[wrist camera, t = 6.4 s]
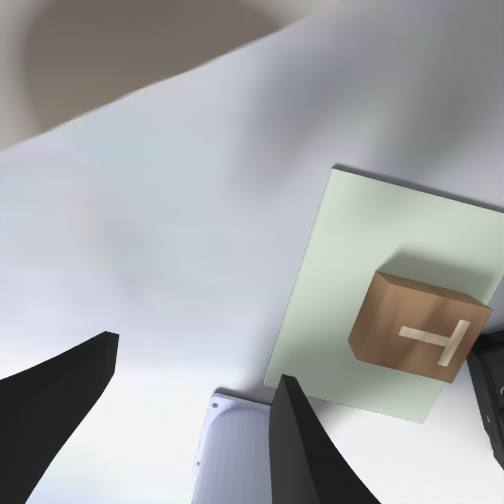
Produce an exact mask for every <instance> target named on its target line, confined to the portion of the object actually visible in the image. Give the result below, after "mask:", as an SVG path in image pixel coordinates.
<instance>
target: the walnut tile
mask: <svg viewBox="0 0 504 504" xmlns="http://www.w3.org/2000/svg"><path fill="white" fill-rule="evenodd" d="M492 310H493V309H491V308H489V307H488V306H486V305H484V304H483V303H481V302H480V301H478V300H476V299H475V298H473V297H471V296H470V295H468V294H465V293H461V292H457V291H454V290H450V289H446V288H442V287H438V286H434V285H430V284H426V283H422V282H418V281H414V280H410V279H406V278H402V277H398V276H395V275H391V274H387V273H383V272H379V271H375V273H374V276H373V278H372V281H371V283H370V286H369V288H368V291H367V293H366V296H365V298H364V300H363V303H362V305H361V308H360V310H359V313H358V315H357V318H356V320H355V323H354V325H353V328H352V330H351V333H350V335H349V338H348V342H349V345H350V347H351V349H352V351H353V353H354V355H355V357H356V359H357V360H358V361H363V362H367V363H371V364H375V365H379V366H383V367H387V368H391V369H395V370H399V371H403V372H407V373H412V374H416V375H420V376H424V377H428V378H432V379H436V380H440V381H444V382H448V383H452V382H453V380H454V379H455V377H456V375H457V373H458V371H459V370H460V368H461V366H462V364H463V362H464V361H465V359H466V357H467V355H468V353H469V352H470V350H471V348H472V346H473V344H474V343H475V341H476V339H477V337H478V335H479V334H480V332H481V330H482V328H483V326H484V325H485V323H486V321H487V319H488V317H489V316H490V314H491V312H492Z"/></svg>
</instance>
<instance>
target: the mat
mask: <svg viewBox="0 0 504 504" xmlns="http://www.w3.org/2000/svg"><path fill="white" fill-rule="evenodd" d="M375 271H379V272H383V273H387V274H391V275H395V276H398V277H402V278H406V279H410V280H414V281H418V282H422V283H426V284H430V285H434V286H438V287H442V288H446V289H450V290H454V291H457V292H461V293H465V294H468V295H470V296H471V297H473V298H475V299H476V300H478V301H480V302H481V303H483V304H484V305H486V306H487V305H488V303H489V301H490V299H491V297H492V296H493V294H494V292H495V290H496V288H497V286H498V285H499V283H500V281H501V279H502V277H503V275H504V213H500V212H496V211H493V210H489V209H485V208H481V207H477V206H474V205H470V204H466V203H462V202H458V201H455V200H451V199H447V198H443V197H439V196H436V195H432V194H428V193H424V192H420V191H417V190H413V189H409V188H405V187H401V186H398V185H394V184H390V183H386V182H382V181H379V180H375V179H371V178H367V177H363V176H360V175H356V174H352V173H348V172H344V171H341V170H337V169H333V168H331V171H330V175H329V178H328V181H327V184H326V187H325V190H324V193H323V196H322V200H321V203H320V206H319V209H318V212H317V215H316V218H315V222H314V225H313V228H312V231H311V234H310V237H309V240H308V244H307V247H306V250H305V253H304V256H303V259H302V262H301V266H300V269H299V272H298V275H297V278H296V281H295V284H294V288H293V291H292V294H291V297H290V300H289V303H288V306H287V310H286V313H285V316H284V319H283V322H282V325H281V328H280V332H279V335H278V338H277V341H276V344H275V347H274V350H273V353H272V357H271V360H270V363H269V366H268V369H267V372H266V375H265V379H264V382H263V386H267V387H271V388H275V389H277V387H278V384H279V381H280V378H281V375H282V374H285V375H289V376H293V377H296V379H297V380H298V382H299V384H300V386H301V388H302V390H303V392H304V394H305V396H309V397H313V398H317V399H321V400H325V401H330V402H334V403H338V404H342V405H346V406H350V407H355V408H359V409H363V410H367V411H371V412H375V413H380V414H384V415H388V416H392V417H396V418H400V419H405V420H409V421H413V422H417V423H421V424H423V422H424V420H425V418H426V416H427V414H428V413H429V411H430V409H431V407H432V405H433V403H434V402H435V400H436V398H437V396H438V394H439V392H440V391H441V389H442V387H443V385H444V383H445V382H444V381H440V380H436V379H432V378H428V377H424V376H420V375H416V374H412V373H407V372H403V371H399V370H395V369H391V368H387V367H383V366H379V365H375V364H371V363H367V362H363V361H358V360H357V359H356V357H355V355H354V353H353V351H352V349H351V347H350V345H349V342H348V338H349V335H350V333H351V330H352V328H353V325H354V323H355V320H356V318H357V315H358V313H359V310H360V308H361V305H362V303H363V300H364V298H365V296H366V293H367V291H368V288H369V286H370V283H371V281H372V278H373V276H374V273H375Z"/></svg>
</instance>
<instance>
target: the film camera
mask: <svg viewBox="0 0 504 504" xmlns="http://www.w3.org/2000/svg"><path fill="white" fill-rule="evenodd" d="M466 359H467V363H468V367H469V371H470V375H471V379H472V382H473V386H474V390H475V394H476V398H477V402H478V406H479V410H480V414H481V417H482V421H483V425H484V429H485V431H486V432H487V434H488V436H489V438H490V442H491V446H492V449H493V451H494V453H493V454H494V457H495V459H496V460H497V462H498V463H499V464H500V466H501V467H502V468H503V470H504V331H503V332H500V333H496V334H492V335H488V336H487V335H485V334H484V335H481V337H480V338H477V339H476V341H475V343H474V344H473V346H472V348H471V350H470V352H469V353H468V355H467V357H466ZM500 408H501V409H500Z"/></svg>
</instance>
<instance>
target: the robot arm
mask: <svg viewBox="0 0 504 504" xmlns="http://www.w3.org/2000/svg"><path fill="white" fill-rule="evenodd" d="M118 341H119V334H115V333H111V332H107V331H105V332H103V333H101V334H99V335H97V336H95V337H93V338H91V339H89V340H87V341H85V342H83V343H81V344H79V345H77V346H75V347H73V348H72V349H70V350H68V351H66V352H64V353H62V354H60V355H58V356H55V357H53V358H51V359H49V360H47V361H44V362H42V363H40V364H38V365H36V366H34V367H31V368H29V369H27V370H24V371H22V372H20V373H17V374H15V375H12V376H9V377H7V378H4V379H1V380H0V504H25V503H26V501H27V499H28V498H29V496H30V495H31V493H32V491H33V490H34V488H35V487H36V485H37V483H38V482H39V480H40V479H41V477H42V476H43V474H44V473H45V471H46V469H47V468H48V466H49V465H50V463H51V462H52V460H53V459H54V457H55V456H56V455H57V453H58V452H59V450H60V449H61V448H62V446H63V445H64V444H65V442H66V441H67V440H68V439H69V437H70V436H71V435H72V433H73V432H74V431H75V429H76V428H77V427H78V425H79V424H80V423H81V422H82V420H83V419H84V418H85V416H86V415H87V414H88V412H89V411H90V410H91V408H92V407H93V406H94V404H95V403H96V402H97V400H98V399H99V398H100V396H101V395H102V393H103V392H104V390H105V388H106V387H107V385H108V383H109V382H110V380H111V378H112V376H113V375H114V372H115V364H116V356H117V348H118ZM214 403H216V404H214ZM192 471H193V473H194V474H195V475H197V479H196V483H195V488H194V492H193V497H192V501H191V504H381V503H380V502H379V501H378V500H377V499H376V497H375V496H374V495H373V494H372V493H371V492H370V491H369V489H368V488H367V487H366V486H365V485H364V483H363V482H362V481H361V480H360V479H359V477H358V476H357V475H356V474H355V472H354V471H353V470H352V469H351V467H350V466H349V465H348V463H347V462H346V461H345V459H344V458H343V457H342V455H341V454H340V453H339V451H338V450H337V448H336V447H335V445H334V444H333V442H332V441H331V439H330V438H329V436H328V435H327V433H326V432H325V430H324V428H323V427H322V425H321V423H320V421H319V420H318V418H317V416H316V414H315V413H314V411H313V409H312V407H311V405H310V404H309V402H308V400H307V398H306V396H305V394H304V392H303V390H302V388H301V386H300V384H299V382H298V380H297V379H296V377H293V376H289V375H285V374H282V375H281V378H280V381H279V384H278V387H277V390H276V393H275V396H274V399H273V402H272V405H271V406H269V405H265V404H261V403H257V402H252V401H248V400H244V399H240V398H236V397H231V396H227V395H223V394H219V393H215V394H213V395H212V396H211V399H210V403H209V407H208V411H207V415H206V419H205V423H204V427H203V431H202V434H201V438H200V442H199V446H198V450H197V454H196V458H195V462H194V465H193V470H192Z"/></svg>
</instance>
